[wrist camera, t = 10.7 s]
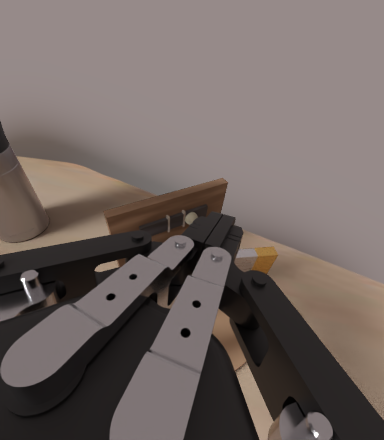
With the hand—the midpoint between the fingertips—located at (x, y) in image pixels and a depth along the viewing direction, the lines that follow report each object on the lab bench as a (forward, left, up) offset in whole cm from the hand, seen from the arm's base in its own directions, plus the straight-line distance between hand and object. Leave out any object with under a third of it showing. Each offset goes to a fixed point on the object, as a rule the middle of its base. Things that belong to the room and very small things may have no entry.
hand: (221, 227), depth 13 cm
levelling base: (-6, +5, -25) cm, 26 cm away
